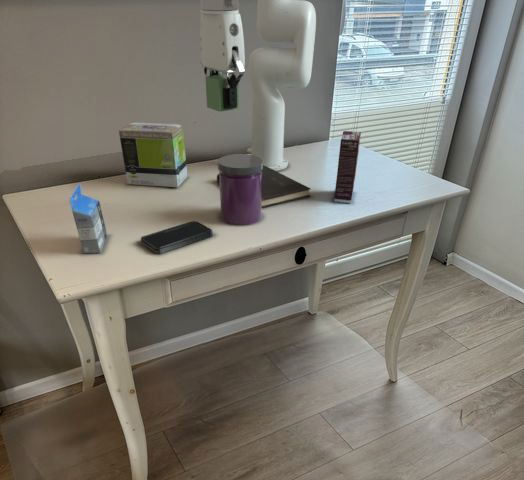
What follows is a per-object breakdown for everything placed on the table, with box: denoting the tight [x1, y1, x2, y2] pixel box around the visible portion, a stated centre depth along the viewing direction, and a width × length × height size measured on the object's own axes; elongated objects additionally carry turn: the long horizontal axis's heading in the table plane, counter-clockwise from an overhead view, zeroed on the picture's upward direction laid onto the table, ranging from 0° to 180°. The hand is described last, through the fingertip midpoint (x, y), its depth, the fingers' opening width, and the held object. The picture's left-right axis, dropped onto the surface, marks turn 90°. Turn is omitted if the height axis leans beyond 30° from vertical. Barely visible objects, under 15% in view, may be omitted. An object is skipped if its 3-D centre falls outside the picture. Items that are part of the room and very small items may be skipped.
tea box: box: [118, 121, 188, 188], centre depth 137 cm, size 15×10×15 cm, turn 80°
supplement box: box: [333, 130, 362, 204], centre depth 129 cm, size 9×5×16 cm, turn 168°
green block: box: [205, 73, 240, 113], centre depth 106 cm, size 5×5×6 cm
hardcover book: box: [216, 165, 311, 209], centre depth 137 cm, size 16×23×2 cm
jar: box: [217, 153, 263, 226], centre depth 118 cm, size 10×10×14 cm
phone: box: [140, 220, 213, 254], centre depth 112 cm, size 8×1×15 cm
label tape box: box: [69, 182, 108, 254], centre depth 106 cm, size 9×4×12 cm, turn 5°
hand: (222, 104), depth 107 cm, fingers closed on green block, 5 cm apart
